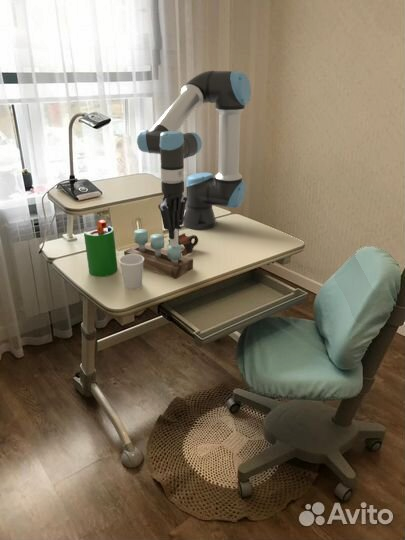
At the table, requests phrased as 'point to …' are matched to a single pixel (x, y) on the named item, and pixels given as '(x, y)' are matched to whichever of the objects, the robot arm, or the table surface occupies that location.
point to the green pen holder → (101, 251)
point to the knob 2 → (157, 243)
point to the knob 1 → (141, 238)
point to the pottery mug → (187, 243)
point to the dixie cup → (132, 270)
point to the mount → (162, 262)
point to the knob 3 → (174, 253)
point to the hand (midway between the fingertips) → (174, 246)
